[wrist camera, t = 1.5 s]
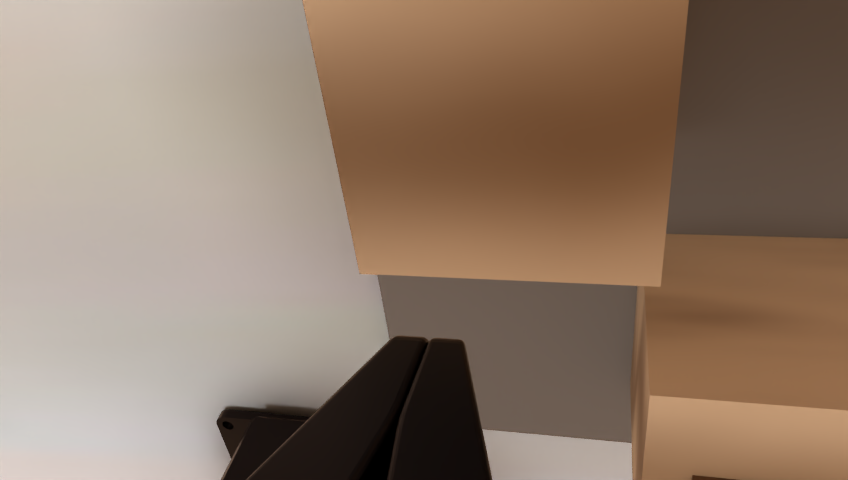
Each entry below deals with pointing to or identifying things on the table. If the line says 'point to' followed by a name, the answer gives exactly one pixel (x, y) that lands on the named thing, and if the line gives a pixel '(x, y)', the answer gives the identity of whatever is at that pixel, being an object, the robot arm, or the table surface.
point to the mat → (687, 214)
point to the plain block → (504, 134)
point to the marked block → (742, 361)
